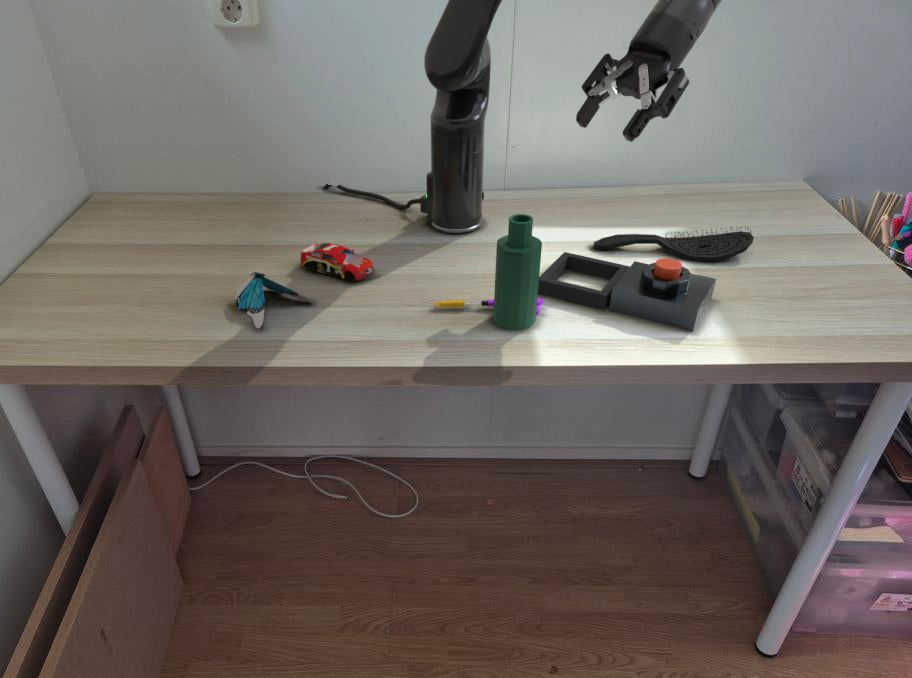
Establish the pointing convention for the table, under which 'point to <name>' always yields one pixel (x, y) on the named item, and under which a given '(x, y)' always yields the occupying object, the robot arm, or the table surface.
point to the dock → (575, 292)
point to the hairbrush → (687, 244)
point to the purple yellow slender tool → (484, 303)
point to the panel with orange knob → (662, 296)
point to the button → (667, 268)
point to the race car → (336, 261)
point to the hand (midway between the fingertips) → (602, 130)
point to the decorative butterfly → (259, 295)
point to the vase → (517, 275)
